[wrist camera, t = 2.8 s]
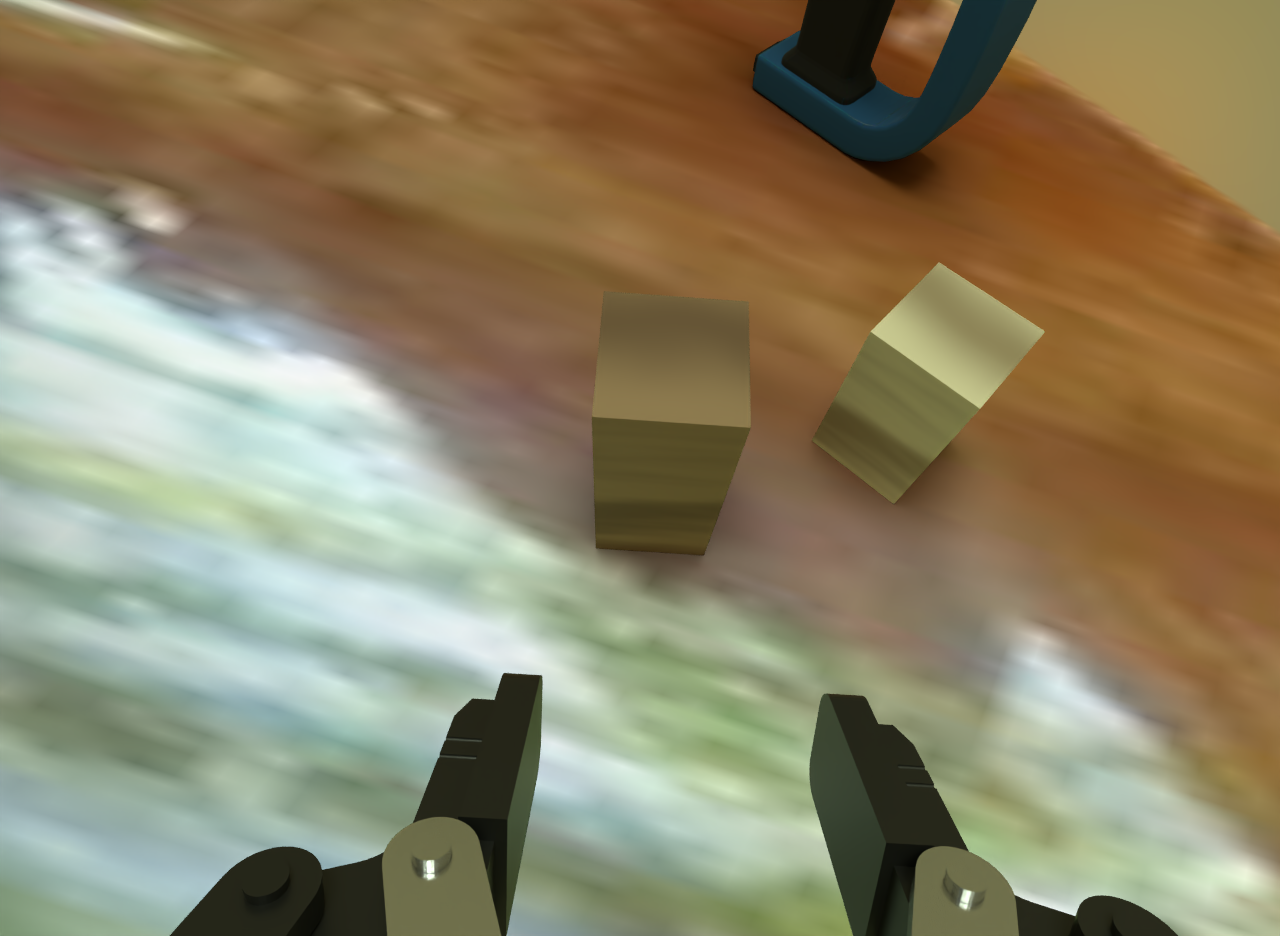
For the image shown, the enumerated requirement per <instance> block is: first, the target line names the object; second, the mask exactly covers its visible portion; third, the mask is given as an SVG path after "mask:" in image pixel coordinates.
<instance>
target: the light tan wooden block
mask: <svg viewBox="0 0 1280 936" xmlns="http://www.w3.org/2000/svg"><path fill="white" fill-rule="evenodd" d="M750 428H751V415H750V357H749V302H746V301H732V300H718V299H704V298H690V297H676V296H662V295H647V294H633V293H619V292H605V291H604V295H603V306H602V316H601V327H600V337H599V348H598V358H597V369H596V379H595V390H594V400H593V411H592V436H593V469H594V502H595V534H596V548H600V549H615V550H631V551H646V552H661V553H677V554H692V555H704V553H705V551H706V548H707V545H708V543H709V540H710V537H711V534H712V532H713V529H714V526H715V524H716V521H717V518H718V515H719V513H720V510H721V507H722V504H723V502H724V499H725V496H726V494H727V491H728V488H729V485H730V483H731V480H732V477H733V475H734V472H735V469H736V466H737V464H738V461H739V458H740V456H741V453H742V450H743V447H744V445H745V442H746V439H747V436H748V434H749V431H750Z"/></svg>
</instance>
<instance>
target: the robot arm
mask: <svg viewBox="0 0 1280 936" xmlns="http://www.w3.org/2000/svg"><path fill="white" fill-rule="evenodd" d="M542 684H543V683H542V675H527V674H511V673H504V674H503V675H502V678H501V681H500V684H499V688H498V691H497V694H496V697H495V700H486V699H472V700H470V701H469V702H468V703H467V704H466V705H465V706H464V707H463V708H462V709H461V710H460V711H459V712H458V713H457V714H456V715H455V716H454V718H453V721H452V723H451V726H450V728H449V731H448V734H447V736H446V741H444V744H443V747H442V749H441V752H440V757H439V758H438V760H437V762H436V765H435V767H434V770H433V773H432V775H431V778H430V780H429V783H428V786H427V788H426V791H425V793H424V796H423V798H422V801H421V804H420V806H419V809H418V811H417V814H416V817H415V819H414V822H413V824H410V825H409V826H407V827H405V828H404V829H402V830H401V831H400V832H399V833H397V834H396V835H395V836H394V837H393V838H392V840H391V841H390V842H389V844H388V845H387V847H386V849H385V851H384V852H383V853H381V854H379V855H378V856H375V857H373V858H370V859H368V860H364V861H361V862H357V863H352V864H348V865H343V866H339V867H334V868H329V869H325V870H322V869H321V865H320V863H319V861H318V859H317V858H316V857H315V856H314V855H313V854H312V853H310V852H308V851H307V850H304V849H301V848H297V847H276V848H271V849H267V850H264V851H261V852H258V853H255V854H253V855H251V856H249V857H247V858H245V859H244V860H242V861H241V862H239V863H238V864H236V865H235V866H234V867H232V868H231V869H230V870H229V871H228V872H227V873H226V874H225V875H224V876H223V877H222V878H221V879H220V880H219V881H218V882H217V884H216V885H215V886H214V887H213V888H212V889H211V890H210V891H209V892H208V894H207V895H206V896H205V897H204V898H203V899H202V900H201V901H200V902H199V904H198V905H197V906H196V907H195V908H194V909H193V910H192V911H191V912H190V914H189V915H188V916H187V917H186V918H185V919H184V920H183V921H182V922H181V924H180V925H179V926H178V927H177V928H176V929H175V930H174V931H173V932H172V934H171V935H170V936H506V935H507V930H508V925H509V920H510V915H511V909H512V904H513V899H514V894H515V889H516V884H517V878H518V873H519V868H520V863H521V858H522V853H523V847H524V842H525V837H526V832H527V827H528V822H529V817H530V811H531V806H532V801H533V796H534V791H535V786H536V780H537V775H538V768H539V759H540V748H541V719H542ZM810 786H811V792H812V796H813V800H814V803H815V807H816V810H817V814H818V817H819V820H820V824H821V827H822V831H823V834H824V837H825V841H826V844H827V848H828V851H829V854H830V858H831V861H832V865H833V868H834V872H835V875H836V878H837V882H838V885H839V889H840V892H841V895H842V899H843V902H844V906H845V909H846V912H847V916H848V919H849V923H850V926H851V930H852V933H853V936H1178V935H1177V934H1176V933H1175V932H1174V931H1173V930H1172V929H1171V928H1170V927H1169V926H1168V925H1166V924H1165V923H1164V922H1163V921H1161V920H1160V919H1159V918H1158V917H1156V916H1155V915H1153V914H1152V913H1150V912H1149V911H1147V910H1145V909H1143V908H1142V907H1140V906H1138V905H1136V904H1133V903H1131V902H1129V901H1126V900H1123V899H1120V898H1116V897H1112V896H1103V895H1102V896H1093V897H1089V898H1087V899H1085V900H1084V901H1083V902H1082V903H1081V904H1080V906H1079V908H1078V911H1077V914H1076V916H1073V915H1070V914H1067V913H1064V912H1060V911H1057V910H1054V909H1051V908H1048V907H1045V906H1042V905H1039V904H1036V903H1033V902H1030V901H1027V900H1025V899H1022V898H1020V897H1018V896H1016V895H1014V893H1013V891H1012V888H1011V887H1010V885H1009V883H1008V882H1007V880H1006V879H1005V878H1004V877H1003V875H1002V874H1001V873H1000V872H999V871H998V870H997V869H996V868H995V867H993V866H992V865H991V864H990V863H988V862H987V861H985V860H984V859H982V858H981V857H979V856H977V855H975V854H973V853H971V852H969V851H968V849H967V847H966V845H965V843H964V841H963V839H962V837H961V835H960V834H959V832H958V830H957V828H956V826H955V824H954V822H953V820H952V818H951V816H950V814H949V812H948V810H947V808H946V806H945V804H944V803H943V801H942V799H941V797H940V795H939V793H938V791H937V789H935V788H934V783H933V781H932V779H931V777H930V775H929V773H928V772H927V770H925V766H924V764H923V762H922V760H921V758H920V756H919V754H918V752H917V750H916V748H915V746H914V745H913V744H912V743H911V742H910V741H909V740H908V739H907V738H906V737H905V736H904V735H903V734H902V733H901V732H900V731H899V730H898V729H897V728H895V727H894V726H893V725H883V724H878V723H877V720H876V718H875V716H874V714H873V712H872V710H871V708H870V705H869V703H868V701H867V699H866V698H865V697H864V696H856V695H840V694H824V695H823V696H822V698H821V701H820V706H819V712H818V718H817V723H816V729H815V735H814V740H813V746H812V752H811V758H810Z"/></svg>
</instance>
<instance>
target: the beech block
mask: <svg viewBox="0 0 1280 936" xmlns="http://www.w3.org/2000/svg"><path fill="white" fill-rule="evenodd" d="M1044 332H1045V331H1043V330H1042V329H1040V328H1039V327H1037V326H1036V325H1034V324H1033V323H1031V322H1030V321H1028V320H1026V319H1025V318H1023V317H1022V316H1020V315H1019V314H1017V313H1016V312H1014V311H1013V310H1011V309H1010V308H1008V307H1007V306H1005V305H1003V304H1002V303H1000V302H999V301H997V300H996V299H994V298H993V297H991V296H990V295H988V294H987V293H985V292H984V291H982V290H980V289H979V288H977V287H976V286H974V285H973V284H971V283H970V282H968V281H967V280H965V279H964V278H962V277H961V276H959V275H957V274H956V273H954V272H953V271H951V270H950V269H948V268H947V267H945V266H944V265H942V264H941V263H938V264H937V265H936V266H935V267H934V268H933V269H932V270H931V271H930V272H929V273H928V274H927V275H926V276H925V277H924V278H923V279H922V280H921V281H920V282H919V283H918V284H917V285H916V286H915V287H914V288H913V289H912V290H911V291H910V292H909V293H908V294H907V295H906V297H905V298H904V299H903V300H902V301H901V302H900V303H899V304H898V305H897V306H896V307H895V308H894V309H893V310H892V311H891V312H890V313H889V314H888V315H887V316H886V317H885V318H884V319H883V320H882V321H881V322H880V323H879V324H878V325H877V326H876V327H875V328H874V329H873V330H872V331H871V332H870V334H869V336H868V338H867V339H866V341H865V343H864V345H863V347H862V349H861V351H860V352H859V354H858V356H857V358H856V360H855V362H854V363H853V365H852V367H851V369H850V371H849V373H848V375H847V376H846V378H845V380H844V382H843V384H842V386H841V388H840V389H839V391H838V393H837V395H836V397H835V399H834V401H833V402H832V404H831V406H830V408H829V410H828V412H827V413H826V415H825V417H824V419H823V421H822V423H821V425H820V426H819V428H818V430H817V432H816V434H815V436H814V438H813V439H812V441H813V442H814V443H815V444H817V445H818V446H819V447H821V448H822V449H823V450H824V451H826V452H827V453H828V454H830V455H831V456H832V457H833V458H835V459H836V460H837V461H839V462H840V463H841V464H842V465H844V466H845V467H846V468H848V469H849V470H850V471H852V472H853V473H854V474H855V475H857V476H858V477H859V478H861V479H862V480H863V481H864V482H866V483H867V484H868V485H870V486H871V487H872V488H873V489H875V490H876V491H877V492H879V493H880V494H881V495H882V496H884V497H885V498H886V499H888V500H889V501H890V502H892V503H893V504H894V503H895V502H896V501H897V500H898V499H899V498H900V497H901V496H902V495H903V493H904V492H905V491H906V490H907V489H908V488H909V487H910V486H911V485H912V483H913V482H914V481H915V480H916V479H917V478H918V477H919V476H920V475H921V474H922V472H923V471H924V470H925V469H926V468H927V467H928V466H929V465H930V464H931V462H932V461H933V460H934V459H935V458H936V457H937V456H938V455H939V454H940V452H941V451H942V450H943V449H944V448H945V447H946V446H947V445H948V444H949V442H950V441H951V440H952V439H953V438H954V437H955V436H956V435H957V434H958V433H959V431H960V430H961V429H962V428H963V427H964V426H965V425H966V424H967V423H968V421H969V420H970V419H971V418H972V417H973V416H974V415H975V414H976V413H977V411H978V410H979V409H980V408H981V407H982V406H983V405H984V403H985V402H986V401H987V400H988V399H989V397H990V396H991V395H992V394H993V393H994V392H995V390H996V389H997V388H998V387H999V386H1000V384H1001V383H1002V382H1003V381H1004V380H1005V378H1006V377H1007V376H1008V375H1009V374H1010V373H1011V371H1012V370H1013V369H1014V368H1015V367H1016V365H1017V364H1018V363H1019V362H1020V361H1021V359H1022V358H1023V357H1024V356H1025V355H1026V354H1027V352H1028V351H1029V350H1030V349H1031V348H1032V346H1033V345H1034V344H1035V343H1036V342H1037V341H1038V339H1039V338H1040V337H1041V336H1042V335H1043V333H1044Z"/></svg>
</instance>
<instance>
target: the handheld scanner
mask: <svg viewBox="0 0 1280 936" xmlns="http://www.w3.org/2000/svg"><path fill="white" fill-rule="evenodd" d="M1036 1H1037V0H963V1H962V4H961V6H960V9H959V11H958V14H957V16H956V19H955V21H954V24H953V26H952V29H951V31H950V33H949V36H948V38H947V40H946V43H945V45H944V47H943V50H942V52H941V54H940V56H939V59H938V61H937V63H936V65H935V68H934V70H933V72H932V74H931V77H930V79H929V81H928V83H927V85H926V87H925V89H924V91H923V93H922V95H921V96H920V98H913V97H907V96H903V95H901V94H899V93H897V92H894V91H893V90H891V89H890V88H888V87H887V86H885V85H884V84H882V83H881V82H879V81H877V80H876V76H875V74H874V72H873V70H872V68H871V63H872V60H873V57H874V54H875V51H876V49H877V46H878V44H879V41H880V38H881V36H882V33H883V31H884V28H885V25H886V23H887V20H888V18H889V15H890V13H891V10H892V7H893V5H894V2H895V0H808V4H807V8H806V11H805V15H804V19H803V23H802V27H801V31H798V32H796V33H795V34H793V35H791V36H790V37H788V38H786V39H784V40H782V41H781V42H780V41H779V42H777V43H775V44H774V45H772V46H770V47H769V48H767V49H765V50H764V51H762V52H760V53H759V54H757V55H756V57H755V63H754V68H753V71H754V72H755V74H754V80H753V88H754V89H755V90H756V91H758V92H759V93H761V94H762V95H763V96H765V97H766V98H768V99H769V100H771V101H772V102H773V103H775V104H776V105H778V106H779V107H780V108H782V109H783V110H785V111H786V112H787V113H789V114H790V115H792V116H793V117H795V118H796V119H797V120H799V121H800V122H802V123H803V124H804V125H806V126H807V127H809V128H810V129H812V130H813V131H814V132H816V133H817V134H819V135H820V136H821V137H823V138H824V139H826V140H827V141H828V142H830V143H831V144H833V145H834V146H836V147H837V148H838V149H840V150H841V151H843V152H844V153H846V154H848V155H850V156H852V157H855V158H858V159H863V160H867V161H880V162H886V161H892V160H897V159H902V158H904V157H906V156H909V155H911V154H913V153H915V152H917V151H919V150H921V149H922V148H923V147H925V146H926V145H927V144H929V143H930V142H931V141H933V140H934V139H935V138H937V137H938V136H939V135H940V134H942V133H943V132H944V131H946V130H947V129H948V128H950V127H951V126H952V125H954V124H955V123H956V122H958V121H959V120H960V119H961V118H963V117H964V116H965V115H966V114H968V113H969V112H970V111H971V110H972V109H973V108H974V106H975V105H976V104H977V103H978V102H979V101H980V99H981V98H982V97H983V96H984V95H985V93H986V92H987V90H988V89H989V87H990V86H991V84H992V82H993V81H994V79H995V78H996V76H997V75H998V73H999V71H1000V70H1001V68H1002V66H1003V64H1004V62H1005V61H1006V59H1007V57H1008V55H1009V53H1010V52H1011V50H1012V48H1013V46H1014V44H1015V42H1016V41H1017V39H1018V37H1019V35H1020V33H1021V31H1022V29H1023V27H1024V25H1025V23H1026V22H1027V19H1028V18H1029V16H1030V13H1031V11H1032V9H1033V7H1034V5H1035V3H1036Z"/></svg>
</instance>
